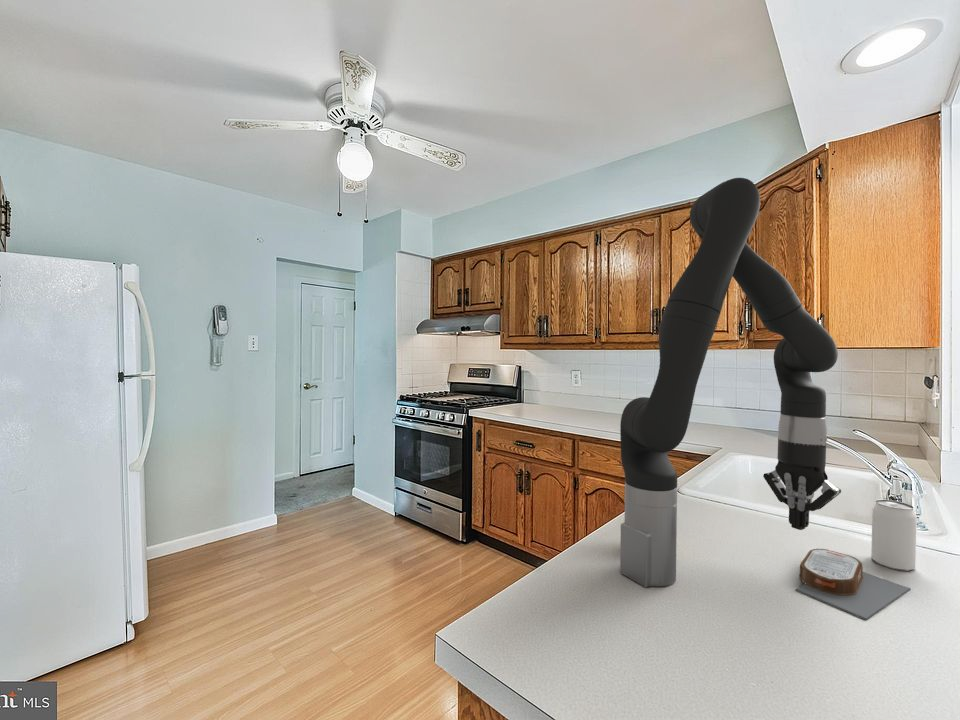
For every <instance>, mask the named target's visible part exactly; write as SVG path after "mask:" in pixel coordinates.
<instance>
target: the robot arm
mask: <svg viewBox="0 0 960 720" xmlns="http://www.w3.org/2000/svg"><path fill="white" fill-rule="evenodd" d="M760 207H761V195H760V191H759V188H758V187H757V186H756V184H755V183H754V182H753V181H752V180H750V179H748V178H744V177H733V178H730V179H727V180H726V181H723V182H721V183H719V184H717V185H716V186H715V187H713V188H711V189H710V190H708V191H707V192H705V193H703V194H702V195H700V196H699V197H698V198H697V199H696V200H695V201H694V202H693V203H692V205H691V207H690V211H689V220H690V224H691V226H692V228H693V230H694V232H695V233H696V234H697V236H698V237H699V238H700V239H701V242H700V244H699V247H698V249H697V251H696V252H695V254H694V257H693V258H692V259H691V261H690V262H689V264H688V266H687V267H686V268H685V270H684V271H683V272H682V274H681V276H680V277H679V279H678V280H677V281H676V283H675V285H674V287H673V289H672V291H671V293H670V294H669V297H668V300H667V303H666V304H665V305H666V306H665V308H664V311H663V314H662V317H661V320H660V324H659V328H658V329H659V330H658V348H659V350H658V351H659V367H658V373H657V376H656V380H655V382H654V386H653V388H652V391H651V393H650V396H649V397H645V396H644V397H636V398H634V399H632V400H631V401H629V402H628V403H627V404H626V406H625V407H624V409H623V410H622V414H621V418H620V428H619V430H620V431H619V432H620V436H619V437H620V462H621V466H622V468H623V472H624V518H623V519H624V520H623V521H624V522H622V523H620V544H619V545H620V546H619V547H620V551H619V552H620V559H619V560H620V562H619V564H620V565H619V566H620V567H619V573H620V574H622V575H624V576H625V577H627V578H629V579H631V580H632V581H635V582H636V583H637V584H640V585H641V586H643V587H645V588H648V587H667V586H671V585H673V584H674V583H675V582H676V580H677V578H676V577H677V537H678V536H677V535H678V534H677V529H678V522H677V520H678V474H677V470H676V469H675V467H674V466H673V464H672V463H671V460H670V458H669V455H668V453H669V452H671V451H673V450H674V449H676V448H677V447H678V446H679V445H680V443H681V442H682V441H683V439H684V437H685V436H686V433H687V429H688V426H689V422H690V418H691V413H692V407H693V403H694V397H695V392H696V388H697V385H698V381H699V378H700V375H701V372H702V369H703V367H704V362H705V359H706V356H707V353H708V350H709V347H710V343H711V341H712V338H713V336H714V333H715V330H716V327H717V324H718V322H719V319H720V315H721V312H722V309H723V304H724V302H725V298H726V296H727V293H728V290H729V287H730V285H731V281H732V278H733V279H734V280H735V282H736V283H737V284H738V285H739V287H740V288H741V290H742V292H743V293H744V294H745V297H746V298H747V300H748V301H749V303H750V305H751V306H752V308H753V309H754V311H755V313H756V315H757V316H758V318H759V320H760V321H761V323H762V325H763V326H764V328H765V329H766V330H767V331H769V332H771V333H774V334H777V335H780V336H782V337H783V338H782V339H781V340H780V341H778V343H777V344H776V346H775V349H774V352H773V365H774V370H775V373H776V378H777V382H778V386H779V390H780V392H781V393H780V394H781V396H780V415H779V422H778V428H777V430H778V431H777V457H776V458H777V464H776V465H775V467H774V469H775V470H772V471H769V472H766V473H764V474H763V479H764V480H765V482H766V483H767V485H768V486H769V488H770V489H771V491H772V492H773V493H774V495H775V497H776V498H777V500H778V502H780V503H783V504H786V505H787V507H788V523H789V524H790V525H791V526H790V527H791V528H793V529H795V530H798V531H803V530H805V529H806V528H808V526H809V524H810V523H809V522H810V512H815V511H817V510H821V509H823V508H824V507H825V506H826V505H827V504H829V503H830V502H832V500H833V499H834V500H835V498H837V496H839V495H841V493H842V490H841V488H839V486H838V487H837V486H834V485H833V484H832V483H831V482H829V480H828V479H829V477H828V475H827V473H826V460H827V441H828V435H827V433H828V432H827V431H828V430H827V429H828V428H827V421H826V416H827V415H826V414H827V413H826V411H827V410H826V409H827V394H826V391H825V389H824V387H821V386H820V385H818V384H815V383H814V382H813V379H812V376H811V373H823V372H826V371H829V370H830V369H832V368H833V367H834V366H835V364H836V363H837V361H838V355H839V353H838V352H839V351H838V347H837V346H838V345H837V344H836V342H835V340H834V338H833V337H832V336H831V335H830V333H829V332H828V331H827V330H826V329H825V327H823V326H822V325H821V324H820V323H819V322H818V321H817V320H816V319H815V318H814V317H813V316H812V315H811V314H810V313H809V312H807V310H806V309H805V307H804V306H803V304H802V302H801V300H800V298H799V297H798V295H797V293H796V292H795V290H794V289H793V287H792V285H791V283H790V282H789V280H788V279H787V278H786V277H785V276H784V275H783V274H782V273H781V272H780V271H779V270H778V269H776V267H774V266H772V265H771V264H770V263H768V261H766V260H765V259H763V258H762V257H761V256H760V255H758V254H757V253H756V252H755V250H754V249H753V248H752V247H751V246H750V245H749V243H747V240H748V238H749V236H750V234H751V232H752V230H753V229H754V228H753V227H754V225H755V224H756V220H757V218H758V217H759V216H758V215H759V213H760ZM821 487H822V488H821ZM819 489H821V490H820V492H821V495H819V496H818V497H816V499H814V500H813V498H814V497H815V496H814V495H815V492H817V491H818V490H819Z"/></svg>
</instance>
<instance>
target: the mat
mask: <svg viewBox="0 0 960 720" xmlns="http://www.w3.org/2000/svg"><path fill="white" fill-rule="evenodd" d="M862 575H863V579H862V582H861V584H860V587H859V589H858V592H857V593H856V594H854V595H847V596H845V595H836V594H831V593H827V592H823V591H821V590H818V589H815V588H813V587H811V586H809V585H807V584H806V583H804V584H802V585H799V586H797V587H796V588H795V591H796V592H798V593H801V594H804V595H806V596H807V597H810V598H813V599H815V600H818V601H820V602H822V603H823V604H826V605H827V604H828V605H830V606H832V607H834V608H836V609H839V610H841V611H844V612H846V613H848V614H851V615H853V616H856V617H858V618H859V619H863V620H864V621H867V620H869V619H870V618H872V617H873V616H875V615H876V614H878V613H879V612H881V611H882V610H884V609H885V608H886V607H888V606H890V604H892V603H894V601H896V600H898V599H899V598H900V597H902V596H904V595H905V594H906V593H908V592H910V591H911V587H909V586H905V585H902V584H900V583H896V582H893V581H890V580H888V579H885V578H884V577H880V576H877V575H874V574H871V573H868V572H865V571H862Z"/></svg>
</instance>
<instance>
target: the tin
mask: <svg viewBox="0 0 960 720" xmlns="http://www.w3.org/2000/svg"><path fill="white" fill-rule="evenodd" d="M800 562H801V563H800V565H799V574H798V577H799V579H800V580H801V582H803V583H804V584H805V583H806V584H807V585H809V586H811V587H813V588H815V589H818V590H821V591H823V592H827V593H831V594H836V595H845V596H847V595H854V594H856V593H857V592H858V589H859V587H860V584H861V582H862V579H863V575H862V571H863V570H864V569H863V564H862V562H861V561H860V560H859V559H858V558H856V557H854V556H852V555H850V554H845V553H841V552H838V551H834V550H831V549H826V548H813V549H811V550H809V551H808V552H807V554H806V555H805V557H804V558H803V559H802V561H800ZM863 572H864V571H863Z"/></svg>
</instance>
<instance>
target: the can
mask: <svg viewBox="0 0 960 720" xmlns="http://www.w3.org/2000/svg"><path fill="white" fill-rule="evenodd" d="M914 509H915V507H914V506H913V505H911V504H909V503H906V502H903V501H902V502H901V501H898V500H892V499H883V498H882V499H880V498H879V499H876V500H875V503H874V505H873V507H872V514H871V515H872V518H871V520H872V521H871V522H872V523H871V551H870V552H871V553H870V554H871V559H873V561H874V563H876V564H878V565H880V566H883V567H886V568H888V569H892V570H896V571H902V572H904V571H905V572H910V571H913V570H914V569H916V564H917V563H916V561H917V559H916V558H917V527H918V525H917V524H918V518H917V517H918V516H917V514H916V512H915V510H914Z"/></svg>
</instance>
